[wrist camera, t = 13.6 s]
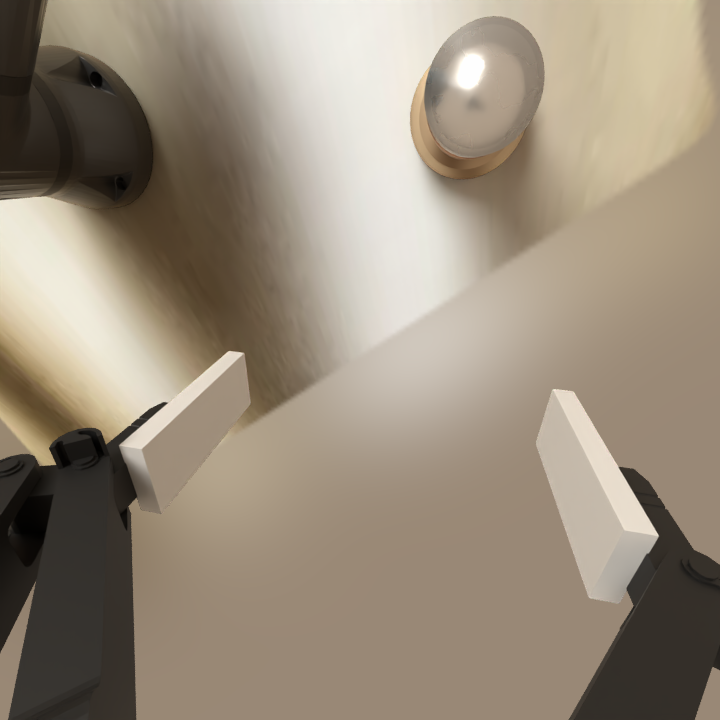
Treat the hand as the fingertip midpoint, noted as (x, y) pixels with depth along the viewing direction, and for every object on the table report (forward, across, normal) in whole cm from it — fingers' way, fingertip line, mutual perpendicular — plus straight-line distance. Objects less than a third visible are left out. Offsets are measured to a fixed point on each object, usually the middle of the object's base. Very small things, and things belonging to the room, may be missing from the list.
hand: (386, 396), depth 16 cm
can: (+25, +3, +13) cm, 29 cm away
